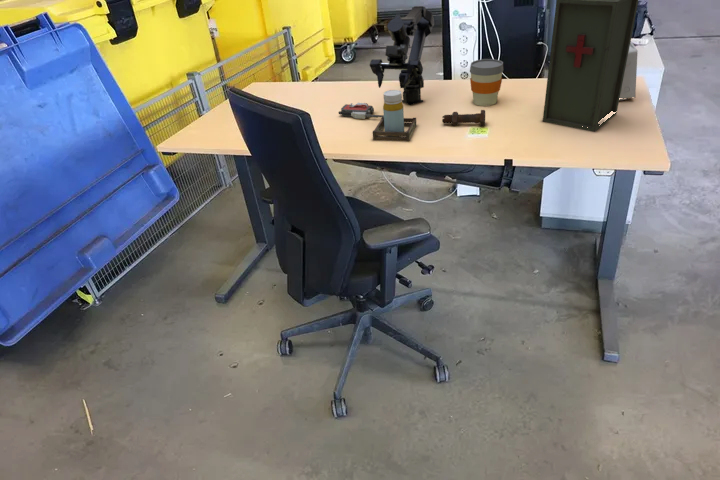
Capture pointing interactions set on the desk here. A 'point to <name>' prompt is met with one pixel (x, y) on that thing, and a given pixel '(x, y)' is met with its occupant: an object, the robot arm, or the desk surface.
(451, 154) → the desk surface
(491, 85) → the reusable coffee cup
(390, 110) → the bottle
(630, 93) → the electrical switch box
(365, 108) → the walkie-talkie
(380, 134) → the crate
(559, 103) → the first aid box
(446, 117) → the bolt
